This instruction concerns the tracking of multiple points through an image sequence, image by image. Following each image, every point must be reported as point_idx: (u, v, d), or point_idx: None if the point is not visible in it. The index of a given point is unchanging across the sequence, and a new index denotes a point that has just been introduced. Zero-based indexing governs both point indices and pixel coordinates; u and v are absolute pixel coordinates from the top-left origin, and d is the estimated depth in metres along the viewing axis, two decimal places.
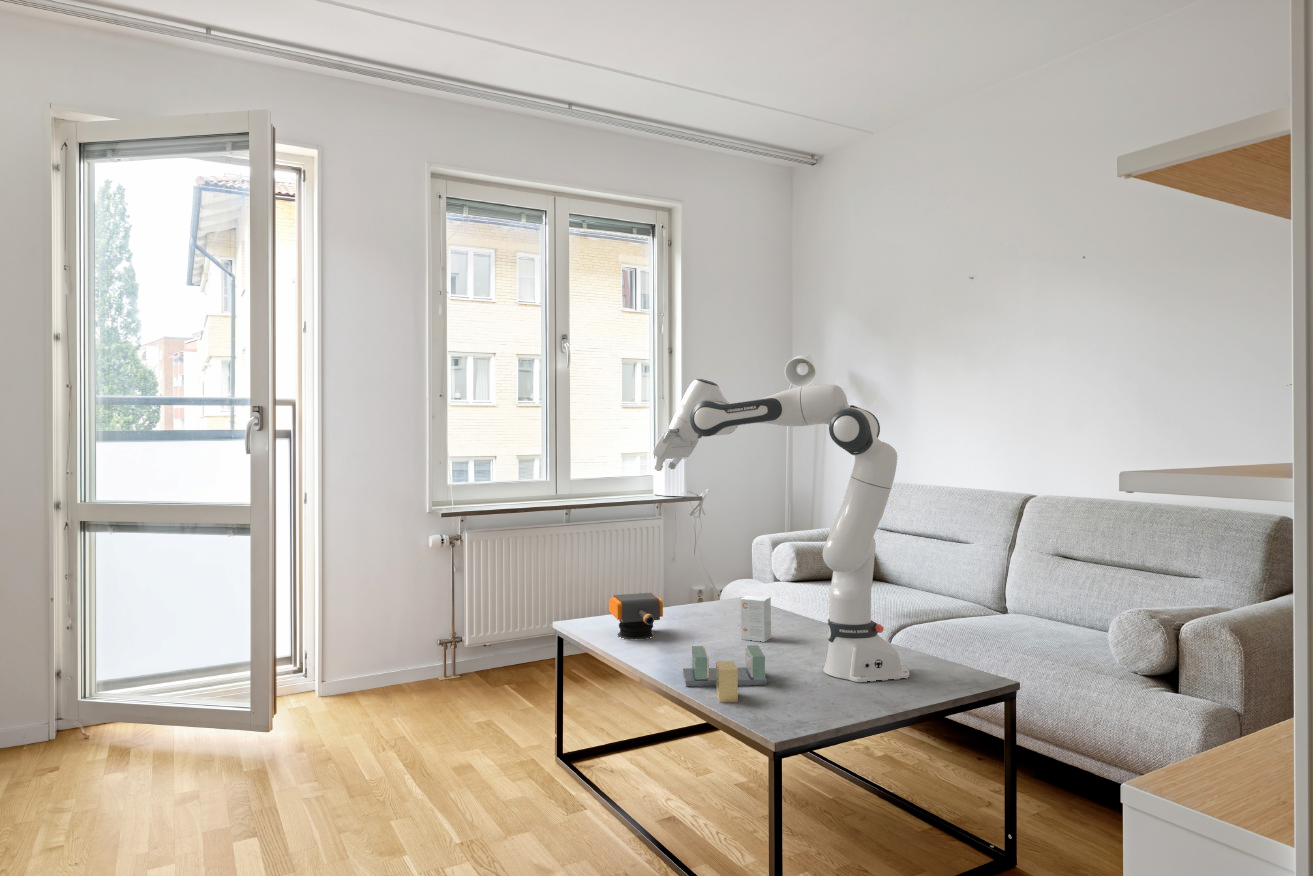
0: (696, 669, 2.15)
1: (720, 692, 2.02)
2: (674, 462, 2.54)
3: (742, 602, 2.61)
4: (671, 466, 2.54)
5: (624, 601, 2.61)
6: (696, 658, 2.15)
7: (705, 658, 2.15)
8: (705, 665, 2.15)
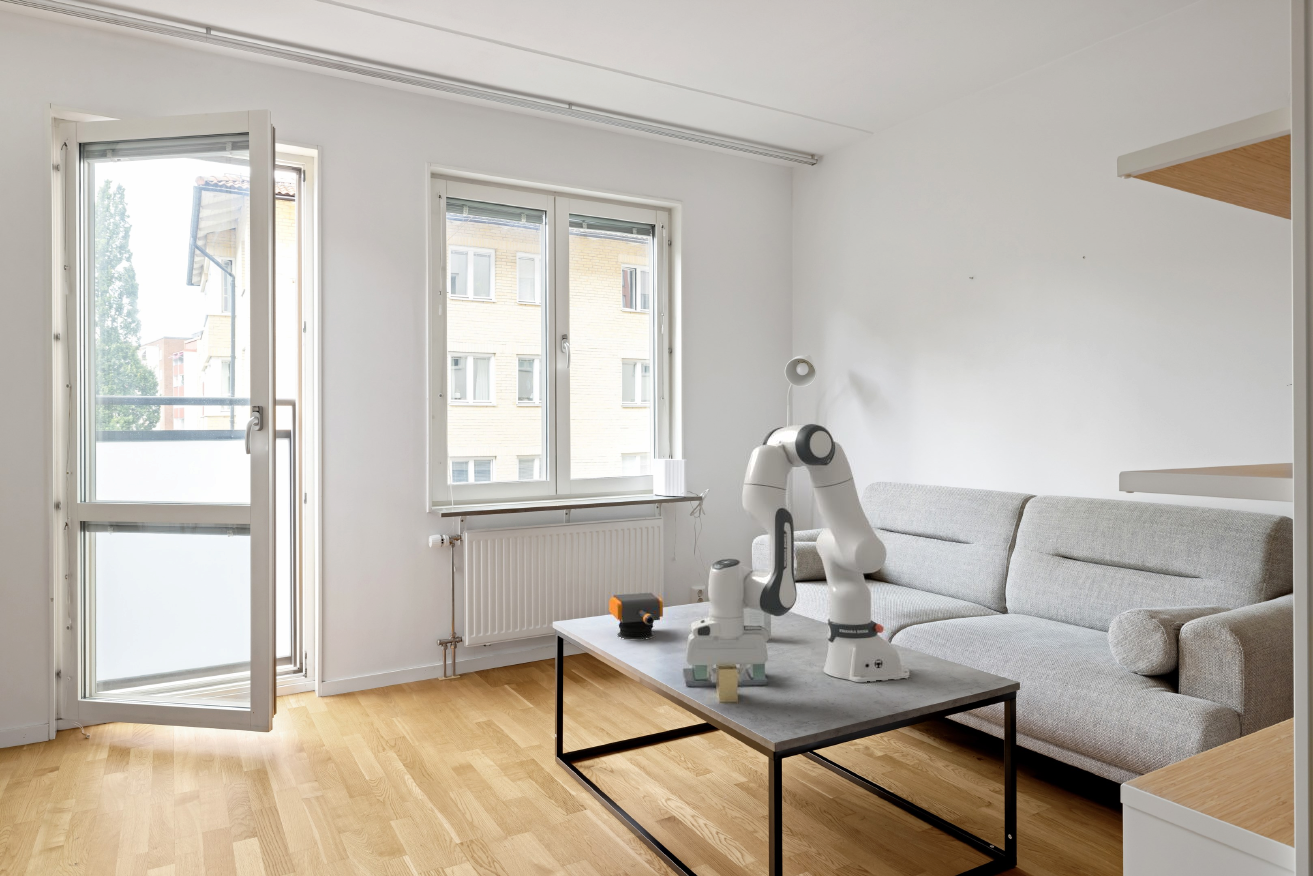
0: (696, 669, 2.15)
1: (720, 692, 2.02)
2: (713, 673, 2.06)
3: None
4: None
5: (624, 601, 2.61)
6: None
7: None
8: (705, 665, 2.15)
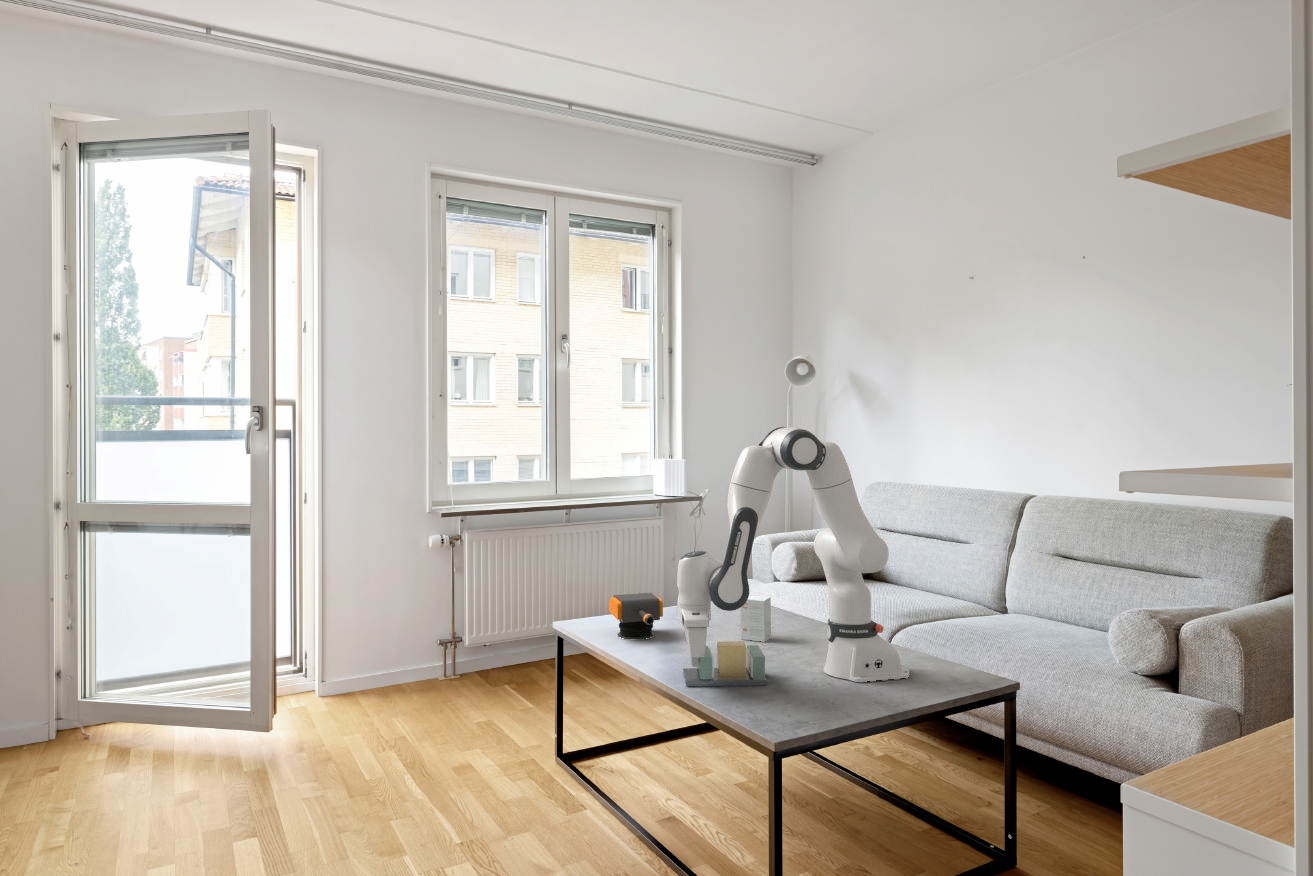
0: (701, 669, 2.15)
1: (745, 666, 2.19)
2: None
3: None
4: None
5: (624, 601, 2.61)
6: (701, 658, 2.15)
7: (710, 658, 2.15)
8: (710, 665, 2.15)
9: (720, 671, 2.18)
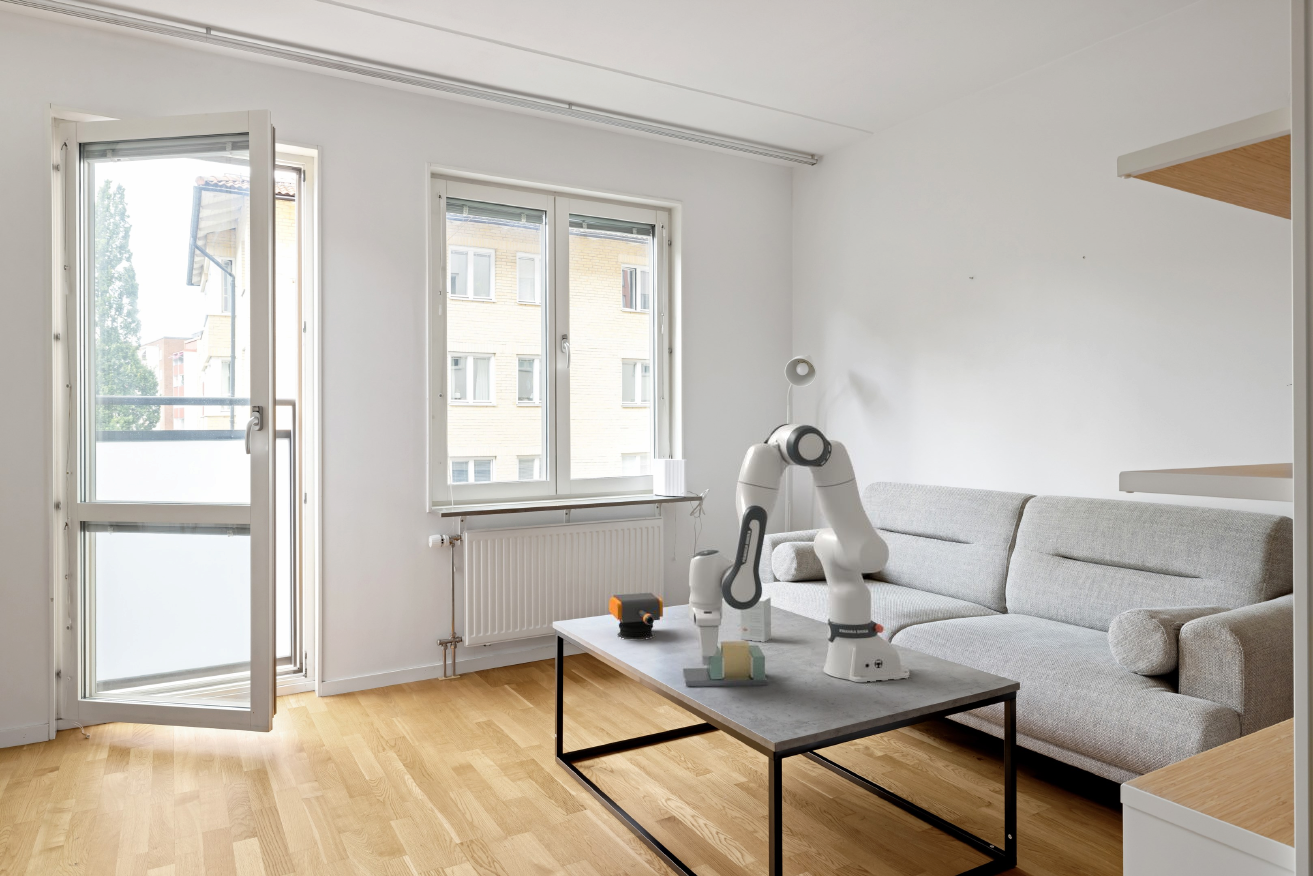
0: (711, 669, 2.15)
1: None
2: None
3: None
4: None
5: (624, 601, 2.61)
6: (711, 658, 2.15)
7: (720, 658, 2.15)
8: (720, 665, 2.15)
9: (724, 671, 2.18)
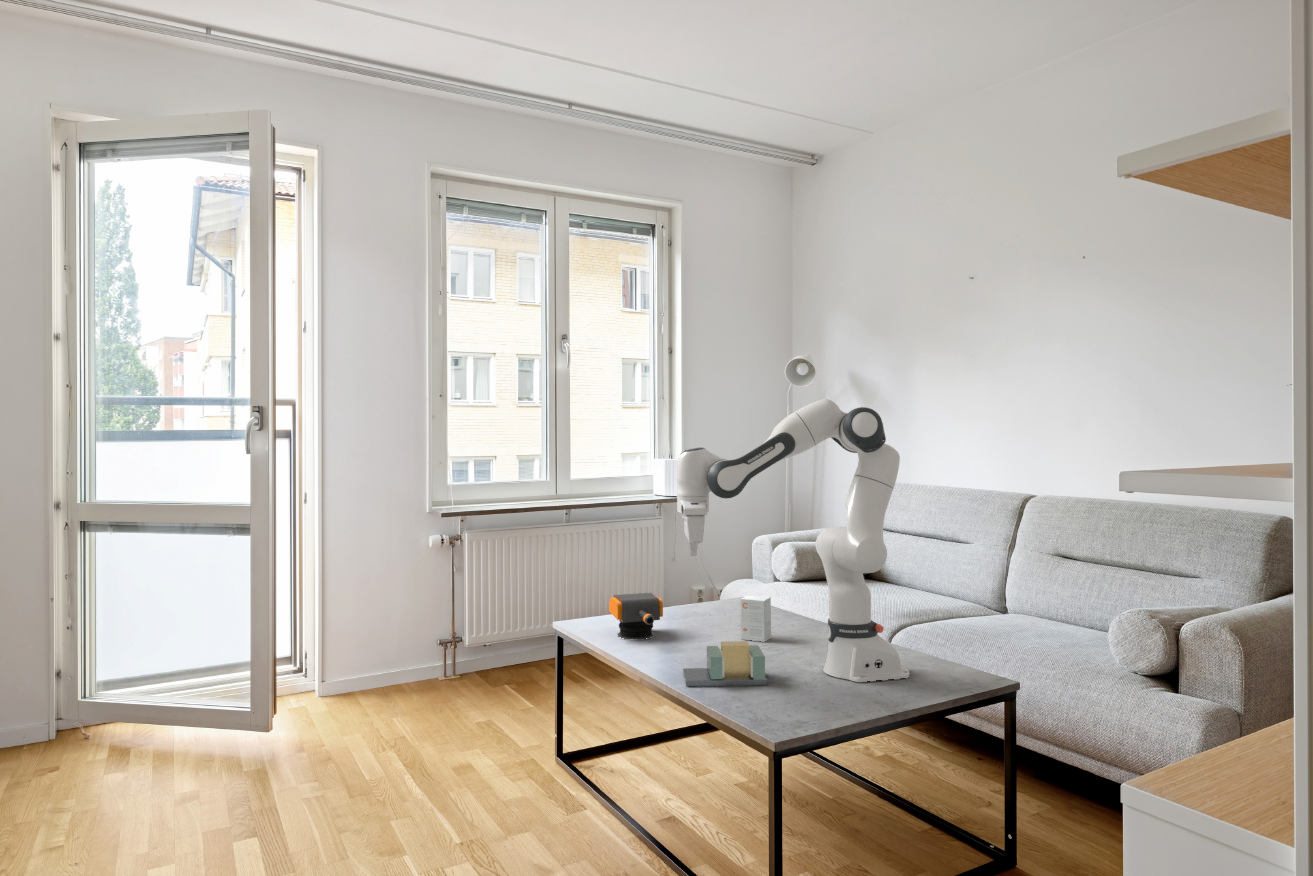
0: (711, 669, 2.15)
1: None
2: None
3: (742, 602, 2.61)
4: None
5: (624, 601, 2.61)
6: (711, 658, 2.15)
7: (720, 658, 2.15)
8: (720, 665, 2.15)
9: (724, 671, 2.18)
